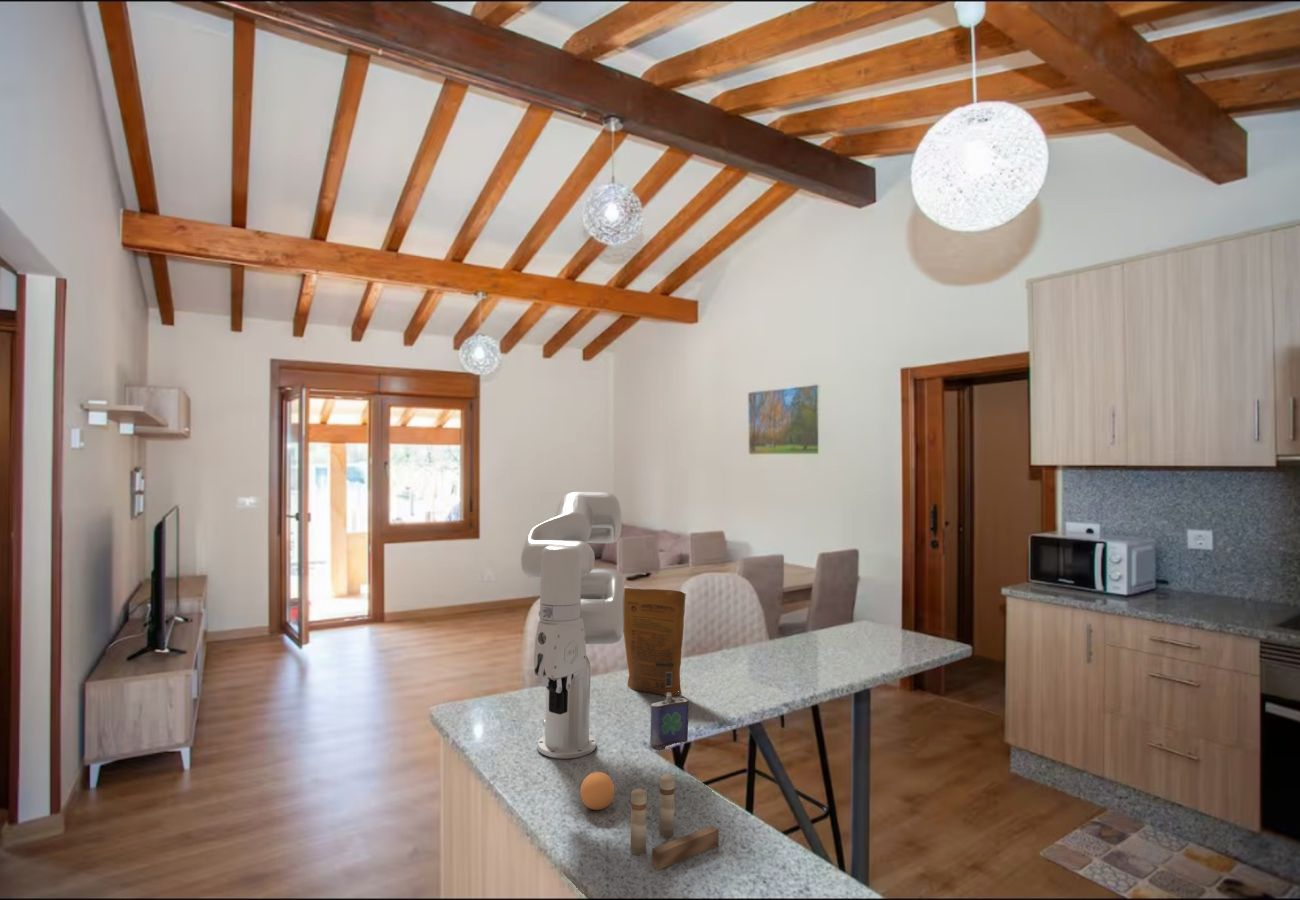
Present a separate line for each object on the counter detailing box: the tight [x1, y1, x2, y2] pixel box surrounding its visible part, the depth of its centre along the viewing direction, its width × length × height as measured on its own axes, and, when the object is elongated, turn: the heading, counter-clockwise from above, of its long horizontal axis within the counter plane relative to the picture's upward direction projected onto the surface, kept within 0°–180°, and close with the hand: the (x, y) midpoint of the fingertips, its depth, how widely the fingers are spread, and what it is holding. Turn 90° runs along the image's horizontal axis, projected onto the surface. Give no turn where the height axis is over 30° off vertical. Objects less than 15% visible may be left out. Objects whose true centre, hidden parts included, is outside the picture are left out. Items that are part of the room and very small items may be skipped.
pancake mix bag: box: [623, 587, 687, 697], centre depth 182 cm, size 7×19×28 cm, turn 63°
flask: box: [649, 692, 690, 748], centre depth 147 cm, size 9×3×11 cm, turn 117°
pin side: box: [629, 788, 648, 856], centre depth 105 cm, size 2×2×9 cm
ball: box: [580, 771, 615, 811], centre depth 118 cm, size 6×6×6 cm
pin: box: [658, 774, 676, 839], centre depth 110 cm, size 2×2×9 cm
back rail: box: [651, 824, 720, 871], centre depth 104 cm, size 12×2×2 cm, turn 125°
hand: (558, 711), depth 124 cm, fingers closed
